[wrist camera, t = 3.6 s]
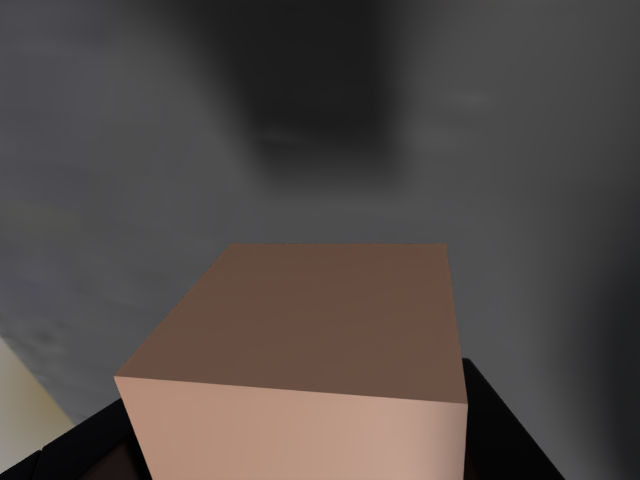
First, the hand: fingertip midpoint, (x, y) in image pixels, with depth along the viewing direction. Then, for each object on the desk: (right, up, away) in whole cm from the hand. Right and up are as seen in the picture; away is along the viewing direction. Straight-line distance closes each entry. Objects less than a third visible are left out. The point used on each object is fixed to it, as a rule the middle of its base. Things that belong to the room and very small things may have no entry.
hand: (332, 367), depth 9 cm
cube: (0, 0, +1) cm, 1 cm away
